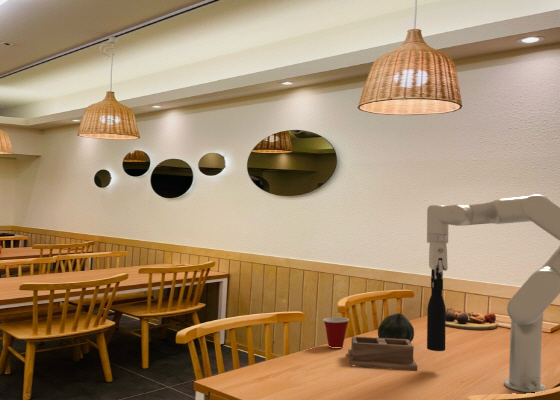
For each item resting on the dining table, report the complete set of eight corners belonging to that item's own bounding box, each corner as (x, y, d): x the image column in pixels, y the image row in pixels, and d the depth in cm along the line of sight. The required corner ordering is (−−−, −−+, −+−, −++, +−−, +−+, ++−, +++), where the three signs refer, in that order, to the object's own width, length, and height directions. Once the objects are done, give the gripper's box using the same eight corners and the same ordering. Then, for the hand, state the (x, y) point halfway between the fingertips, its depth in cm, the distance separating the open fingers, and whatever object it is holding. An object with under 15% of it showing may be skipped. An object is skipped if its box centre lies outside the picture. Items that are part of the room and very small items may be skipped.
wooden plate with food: (502, 323, 284) (502, 308, 284) (491, 333, 257) (491, 316, 257) (442, 317, 301) (442, 302, 301) (425, 325, 274) (426, 309, 274)
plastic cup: (331, 342, 227) (332, 314, 227) (353, 347, 220) (354, 318, 220) (316, 347, 218) (317, 318, 219) (338, 352, 212) (339, 322, 212)
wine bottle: (446, 351, 188) (447, 267, 189) (427, 350, 190) (428, 266, 191) (444, 347, 195) (445, 265, 196) (426, 346, 196) (427, 265, 197)
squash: (381, 326, 238) (380, 305, 229) (416, 331, 233) (415, 309, 224) (376, 353, 228) (374, 331, 219) (412, 359, 223) (411, 337, 214)
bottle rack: (417, 370, 191) (418, 349, 191) (350, 366, 193) (351, 345, 193) (409, 356, 209) (409, 337, 209) (348, 353, 211) (348, 334, 211)
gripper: (453, 240, 185) (452, 292, 184) (442, 238, 201) (442, 286, 201) (431, 239, 185) (430, 292, 185) (422, 237, 202) (422, 286, 201)
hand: (436, 288), depth 193 cm, fingers closed on wine bottle, 3 cm apart
